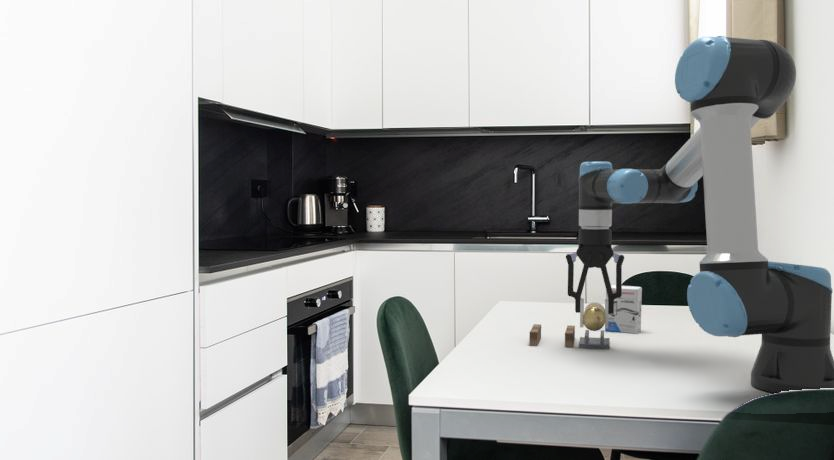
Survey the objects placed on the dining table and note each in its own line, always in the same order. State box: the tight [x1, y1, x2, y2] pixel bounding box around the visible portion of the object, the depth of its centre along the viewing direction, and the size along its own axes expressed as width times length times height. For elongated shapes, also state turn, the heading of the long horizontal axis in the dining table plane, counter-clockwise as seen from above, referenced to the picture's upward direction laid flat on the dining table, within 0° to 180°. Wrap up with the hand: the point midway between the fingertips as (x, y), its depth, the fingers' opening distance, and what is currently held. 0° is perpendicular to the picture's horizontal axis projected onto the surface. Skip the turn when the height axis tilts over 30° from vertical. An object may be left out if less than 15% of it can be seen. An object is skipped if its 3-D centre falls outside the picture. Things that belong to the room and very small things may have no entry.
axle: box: [583, 302, 605, 332], centre depth 198 cm, size 12×5×5 cm, turn 167°
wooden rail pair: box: [529, 324, 576, 348], centre depth 202 cm, size 12×10×3 cm
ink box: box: [604, 284, 643, 335], centre depth 217 cm, size 9×5×12 cm, turn 62°
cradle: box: [578, 329, 611, 350], centre depth 198 cm, size 9×7×3 cm
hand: (594, 326), depth 195 cm, fingers closed on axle, 5 cm apart
